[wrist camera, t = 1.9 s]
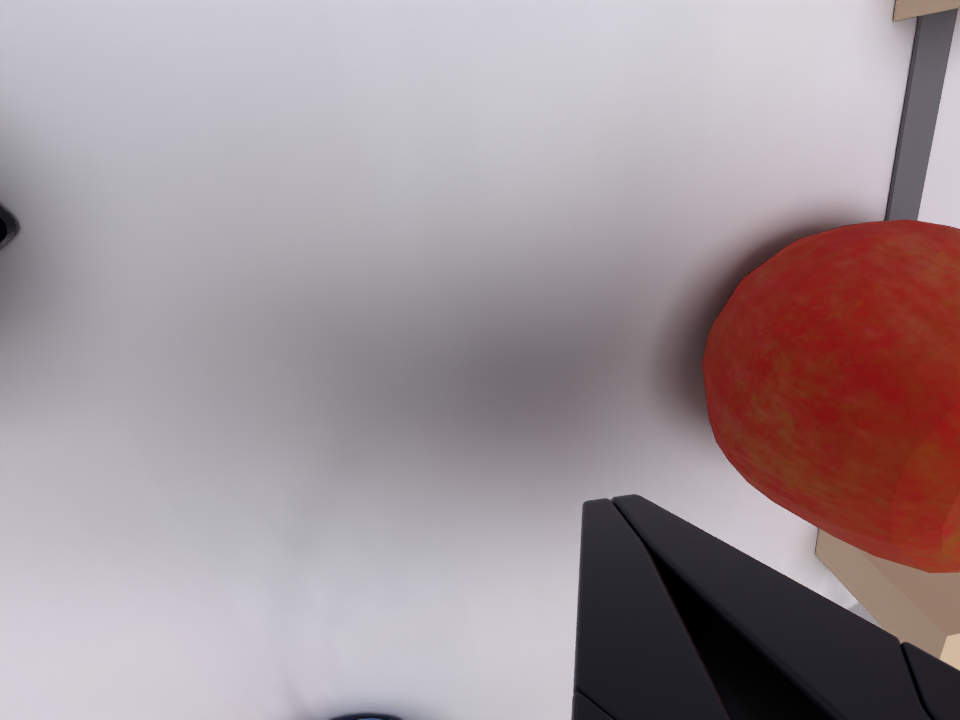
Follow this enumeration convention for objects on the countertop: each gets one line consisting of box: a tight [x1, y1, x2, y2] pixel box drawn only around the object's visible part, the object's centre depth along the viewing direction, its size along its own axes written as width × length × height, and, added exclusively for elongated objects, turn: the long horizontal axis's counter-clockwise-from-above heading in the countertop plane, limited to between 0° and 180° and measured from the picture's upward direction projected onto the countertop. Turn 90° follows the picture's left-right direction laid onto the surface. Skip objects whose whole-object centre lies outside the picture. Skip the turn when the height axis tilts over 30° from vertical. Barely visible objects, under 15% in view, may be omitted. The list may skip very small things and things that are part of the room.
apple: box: [702, 219, 960, 573], centre depth 17 cm, size 11×11×11 cm
